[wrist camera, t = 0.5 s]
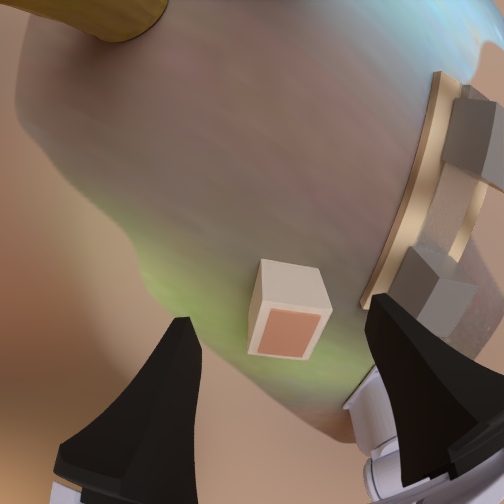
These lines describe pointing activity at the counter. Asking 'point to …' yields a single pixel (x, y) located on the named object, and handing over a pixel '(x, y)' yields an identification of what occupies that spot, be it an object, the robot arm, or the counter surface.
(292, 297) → the block
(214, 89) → the counter surface
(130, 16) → the vase
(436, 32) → the counter surface
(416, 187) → the board
